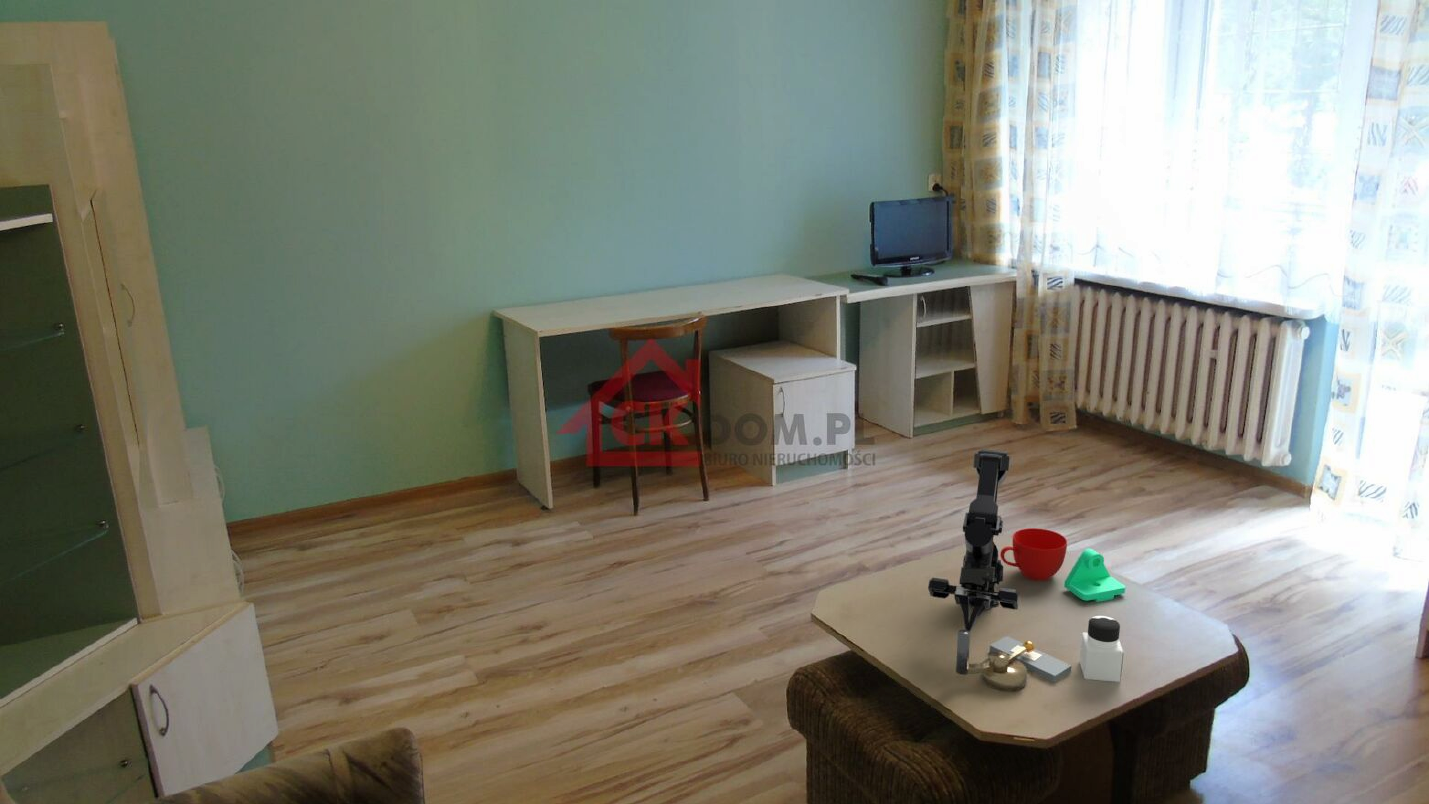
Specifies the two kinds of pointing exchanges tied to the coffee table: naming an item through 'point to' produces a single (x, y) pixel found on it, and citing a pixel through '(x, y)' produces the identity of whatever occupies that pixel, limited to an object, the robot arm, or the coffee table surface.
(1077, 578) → the camera mount
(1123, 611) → the coffee table surface
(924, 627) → the coffee table surface
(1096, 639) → the medicine bottle
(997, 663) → the crank handle
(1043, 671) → the plate
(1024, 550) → the ceramic cup
